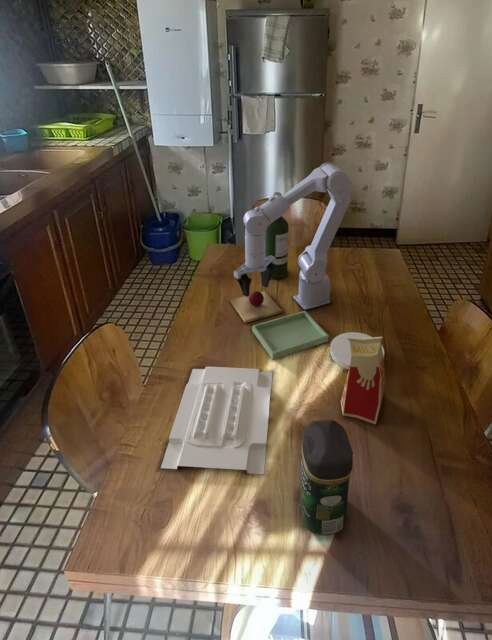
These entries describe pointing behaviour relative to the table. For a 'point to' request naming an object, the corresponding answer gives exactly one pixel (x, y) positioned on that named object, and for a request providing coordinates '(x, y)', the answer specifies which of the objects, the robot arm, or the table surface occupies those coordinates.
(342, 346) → the plastic lid
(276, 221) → the wine bottle
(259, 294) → the plum
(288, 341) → the tray
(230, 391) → the tray
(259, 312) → the board
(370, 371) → the milk carton
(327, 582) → the table surface
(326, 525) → the coffee jar
